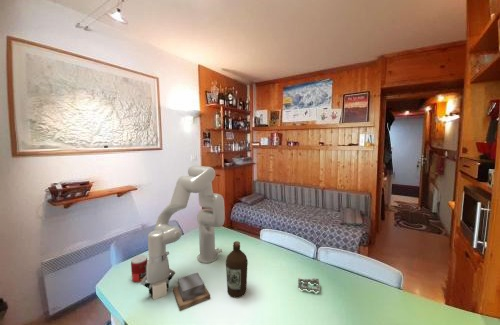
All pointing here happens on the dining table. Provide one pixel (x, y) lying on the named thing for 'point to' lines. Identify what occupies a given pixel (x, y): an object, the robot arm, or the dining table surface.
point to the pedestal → (190, 291)
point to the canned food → (138, 267)
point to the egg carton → (305, 284)
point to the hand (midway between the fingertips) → (159, 291)
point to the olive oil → (236, 272)
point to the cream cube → (159, 289)
